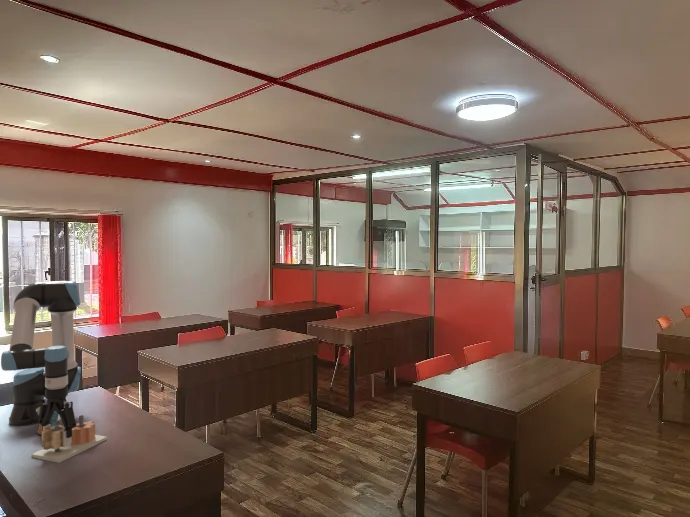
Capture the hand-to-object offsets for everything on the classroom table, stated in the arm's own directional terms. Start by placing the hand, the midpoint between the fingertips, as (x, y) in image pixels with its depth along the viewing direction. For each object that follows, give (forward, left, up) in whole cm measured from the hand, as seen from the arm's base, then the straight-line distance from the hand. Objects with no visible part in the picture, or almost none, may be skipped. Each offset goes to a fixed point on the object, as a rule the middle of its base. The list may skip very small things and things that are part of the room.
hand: (57, 443), depth 179 cm
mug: (-22, +16, -4) cm, 28 cm away
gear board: (0, +6, -4) cm, 7 cm away
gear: (0, 0, 0) cm, 0 cm away
